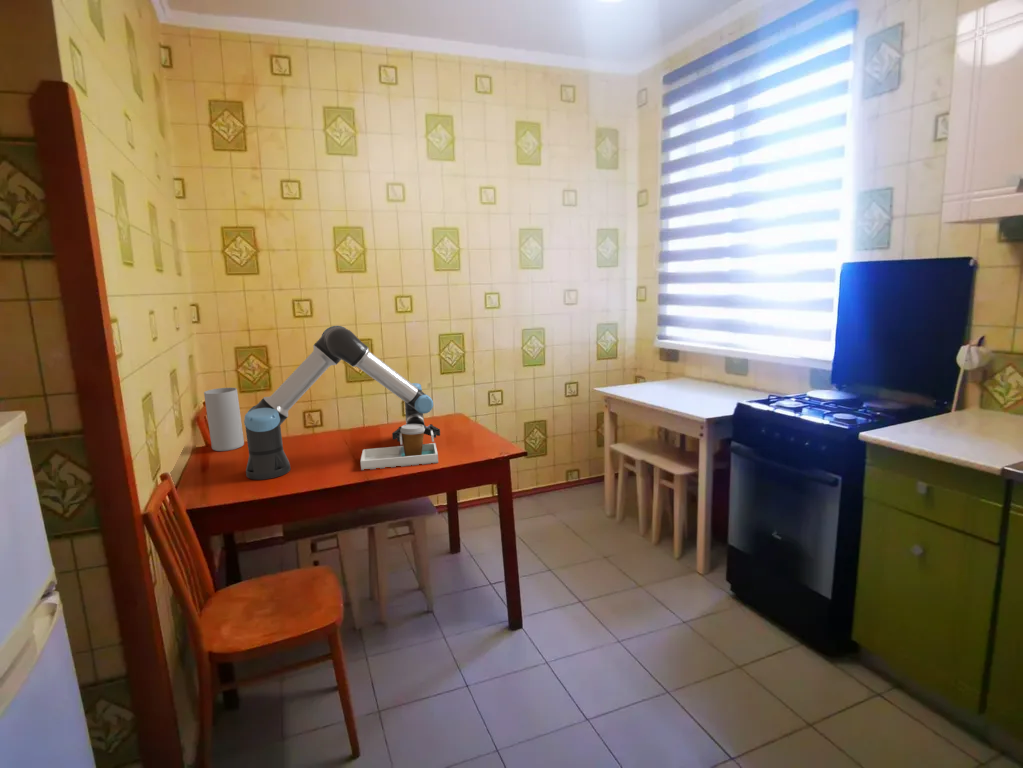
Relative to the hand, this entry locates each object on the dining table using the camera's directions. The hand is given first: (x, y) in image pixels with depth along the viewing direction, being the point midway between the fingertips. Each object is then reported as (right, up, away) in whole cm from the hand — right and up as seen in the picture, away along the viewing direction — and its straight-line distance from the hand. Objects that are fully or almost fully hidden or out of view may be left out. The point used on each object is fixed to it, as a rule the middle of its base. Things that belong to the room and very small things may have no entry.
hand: (417, 439), depth 212 cm
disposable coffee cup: (-2, -7, +5) cm, 9 cm away
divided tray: (-7, -8, +4) cm, 12 cm away
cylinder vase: (-87, -6, +29) cm, 92 cm away
